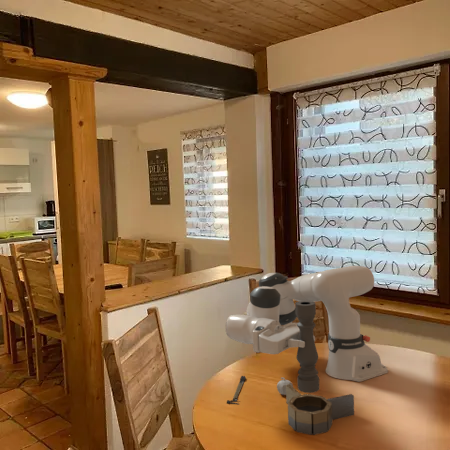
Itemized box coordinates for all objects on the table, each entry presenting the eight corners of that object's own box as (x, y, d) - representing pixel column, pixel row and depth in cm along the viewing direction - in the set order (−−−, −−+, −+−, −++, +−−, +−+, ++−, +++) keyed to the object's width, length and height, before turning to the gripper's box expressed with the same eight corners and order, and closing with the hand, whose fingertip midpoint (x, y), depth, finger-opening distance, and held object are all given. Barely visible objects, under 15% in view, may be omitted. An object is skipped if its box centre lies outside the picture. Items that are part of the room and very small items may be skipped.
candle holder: (315, 394, 131) (312, 306, 129) (294, 390, 134) (291, 304, 132) (322, 386, 136) (319, 301, 135) (302, 382, 140) (298, 300, 138)
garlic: (275, 390, 160) (274, 375, 159) (290, 389, 160) (290, 374, 160) (278, 398, 154) (278, 382, 154) (295, 396, 154) (294, 381, 154)
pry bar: (246, 408, 150) (246, 405, 150) (226, 405, 151) (226, 401, 151) (257, 380, 170) (258, 377, 170) (240, 378, 172) (240, 375, 172)
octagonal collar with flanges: (327, 394, 155) (327, 376, 154) (364, 423, 136) (364, 403, 135) (271, 406, 148) (270, 387, 148) (301, 437, 129) (300, 416, 129)
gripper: (288, 334, 151) (327, 342, 142) (250, 353, 135) (291, 363, 127) (287, 315, 151) (326, 322, 142) (249, 332, 135) (290, 340, 126)
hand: (309, 341), depth 134 cm, fingers closed on candle holder, 3 cm apart
